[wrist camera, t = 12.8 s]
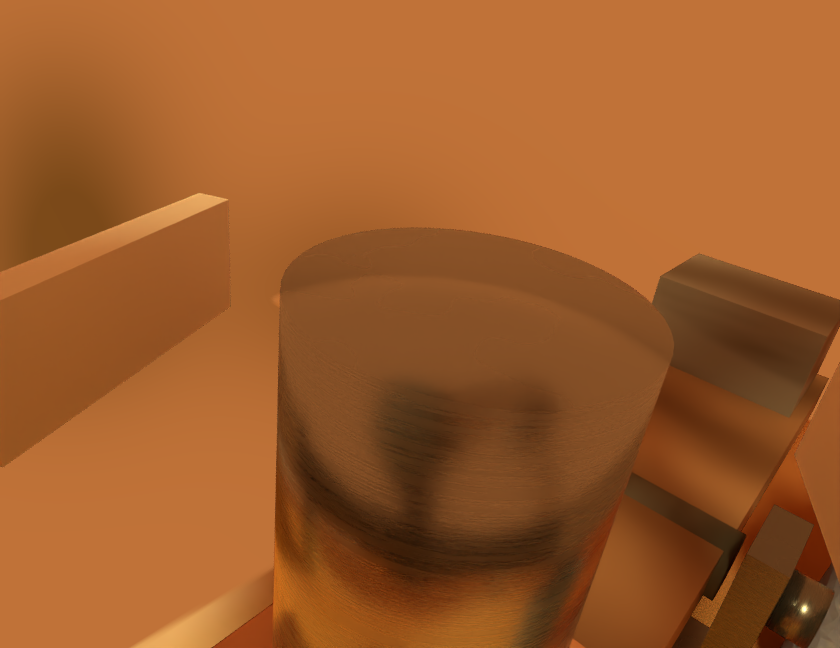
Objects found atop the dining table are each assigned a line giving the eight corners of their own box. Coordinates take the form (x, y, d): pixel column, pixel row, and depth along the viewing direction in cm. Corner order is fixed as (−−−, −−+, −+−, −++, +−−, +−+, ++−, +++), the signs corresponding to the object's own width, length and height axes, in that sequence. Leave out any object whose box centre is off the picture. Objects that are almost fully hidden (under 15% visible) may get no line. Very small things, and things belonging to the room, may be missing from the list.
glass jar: (489, 570, 18) (571, 233, 13) (581, 812, 13) (765, 401, 8) (269, 592, 16) (275, 221, 12) (273, 874, 11) (287, 416, 7)
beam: (653, 348, 37) (687, 246, 34) (817, 418, 32) (872, 307, 29) (158, 732, 16) (135, 551, 13) (424, 1103, 11) (483, 948, 8)
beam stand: (490, 510, 35) (531, 332, 30) (758, 690, 27) (874, 493, 22) (356, 623, 28) (379, 415, 23) (667, 909, 20) (807, 692, 15)
